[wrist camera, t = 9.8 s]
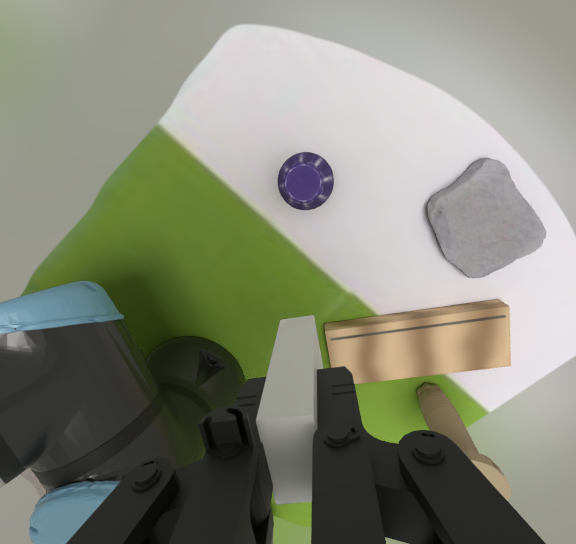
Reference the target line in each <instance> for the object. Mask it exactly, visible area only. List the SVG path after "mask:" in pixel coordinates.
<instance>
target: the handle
mask: <svg viewBox="0 0 576 544" xmlns="http://www.w3.org/2000/svg"><path fill="white" fill-rule="evenodd" d="M417 394H418V396H419V403H420V407H421V411H422V414H423V416H424V419H425V421H426V423H427V425H428V427H429V429H430V431H435V432H438V433H440V434H443V435H445V436H447V437H448V438H449V439H451V440H452V441H453V442H454V443H455V444H456V445H457V446H458V447H459V448H460V449H461V450H462V451H463V452H464V454H465V455H466V456H467V457H468V458H469V459H470V460H471V461H472V462H473V464H474V465H475V466H476V467H477V468H478V469H479V470H480V471H481V472H482V474H483V475H484V476H485V477H486V478H487V479H488V480H489V481H490V482H491V484H492V485H493V486H494V487H495V488H496V489H497V490H498V491H499V492H500V494H501V495H502V496H503V497H504V498H505V499H506V500H508V499H509V497H510V495H511V489H510V487H509V484H508V481H507V480H506V478H505V476H504V475H503V473H502V472H501V470H500V468H499V467H498V466H497V465H496V464H495V463H494V462H493V461H492V460H491V459H490V458H488V457H487V456H484V455H482V454H479V453H478V451H477V449H476V447H475V445H474V443H473V441H472V440H471V437H470V435H469V434H468V432H467V430H466V428H465V426H464V424H463V422H462V420H461V418H460V416H459V414H458V413H457V411H456V409H455V408H454V406H453V405H452V404H451V402H450V401H449V399H448V398H447V397H446V396H445V395H444V394H443V393H442V390H441V389H440V388H439V387H438V386H437V385H435V384H434V385H430V384H427V383H424V384H423V386H422V387H420V388H418V389H417Z"/></svg>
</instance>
